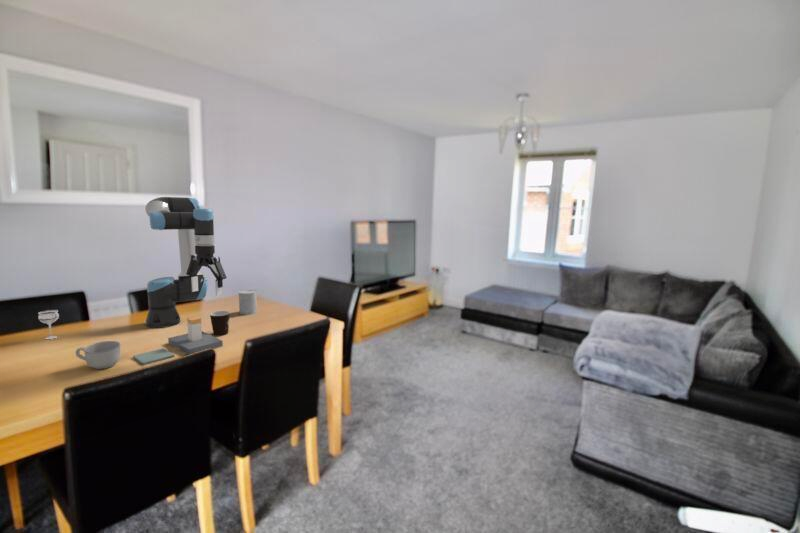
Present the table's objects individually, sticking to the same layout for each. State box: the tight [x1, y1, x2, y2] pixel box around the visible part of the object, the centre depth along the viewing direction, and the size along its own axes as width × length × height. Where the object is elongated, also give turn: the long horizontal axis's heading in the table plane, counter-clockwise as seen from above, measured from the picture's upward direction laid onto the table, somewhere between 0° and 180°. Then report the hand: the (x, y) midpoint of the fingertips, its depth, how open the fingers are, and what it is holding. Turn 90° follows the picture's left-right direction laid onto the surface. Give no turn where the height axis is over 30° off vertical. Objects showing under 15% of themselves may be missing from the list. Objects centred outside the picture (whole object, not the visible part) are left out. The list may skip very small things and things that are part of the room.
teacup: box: [75, 340, 122, 370], centre depth 142 cm, size 14×11×8 cm
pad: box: [132, 347, 176, 366], centre depth 151 cm, size 11×11×1 cm
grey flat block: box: [167, 330, 224, 356], centre depth 166 cm, size 20×14×2 cm
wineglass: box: [37, 309, 60, 340], centre depth 168 cm, size 7×7×12 cm
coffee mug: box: [209, 310, 231, 337], centre depth 182 cm, size 12×9×10 cm
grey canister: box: [238, 289, 258, 316], centre depth 217 cm, size 10×10×12 cm
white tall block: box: [186, 316, 203, 342], centre depth 165 cm, size 4×4×12 cm
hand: (206, 293), depth 165 cm, fingers open, 13 cm apart
